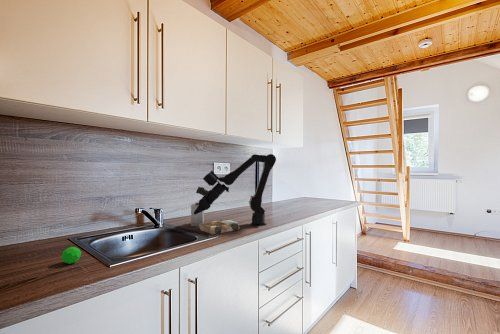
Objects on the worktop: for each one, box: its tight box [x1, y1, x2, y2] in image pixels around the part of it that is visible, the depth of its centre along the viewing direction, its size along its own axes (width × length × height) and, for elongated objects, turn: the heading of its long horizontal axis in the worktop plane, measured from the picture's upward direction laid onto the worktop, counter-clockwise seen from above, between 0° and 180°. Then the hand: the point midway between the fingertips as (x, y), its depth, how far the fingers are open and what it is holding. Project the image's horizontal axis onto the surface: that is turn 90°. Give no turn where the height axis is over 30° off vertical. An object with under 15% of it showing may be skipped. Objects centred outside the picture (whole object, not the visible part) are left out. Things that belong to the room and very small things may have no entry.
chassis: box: [199, 219, 241, 235], centre depth 124 cm, size 16×13×3 cm
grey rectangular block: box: [190, 201, 205, 227], centre depth 133 cm, size 6×6×12 cm
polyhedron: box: [61, 246, 82, 265], centre depth 78 cm, size 5×5×5 cm
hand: (194, 212), depth 133 cm, fingers closed on grey rectangular block, 6 cm apart
